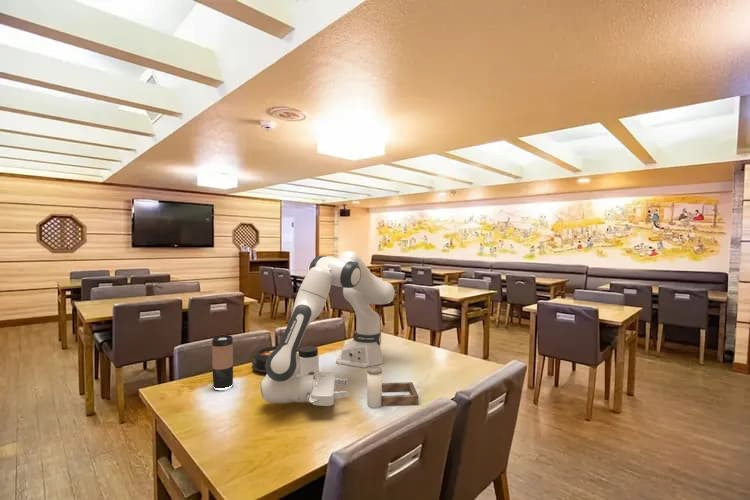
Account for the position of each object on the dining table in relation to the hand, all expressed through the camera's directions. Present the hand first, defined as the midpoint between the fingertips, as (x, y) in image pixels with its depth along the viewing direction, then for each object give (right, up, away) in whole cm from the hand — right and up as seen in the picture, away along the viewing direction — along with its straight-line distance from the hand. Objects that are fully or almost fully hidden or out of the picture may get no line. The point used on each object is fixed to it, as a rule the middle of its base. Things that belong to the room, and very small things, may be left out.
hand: (347, 387), depth 132 cm
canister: (+10, -6, +1) cm, 11 cm away
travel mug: (-51, -6, +16) cm, 53 cm away
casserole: (-36, -5, +37) cm, 52 cm away
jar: (-19, -6, +27) cm, 34 cm away
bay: (+18, -6, +7) cm, 20 cm away
